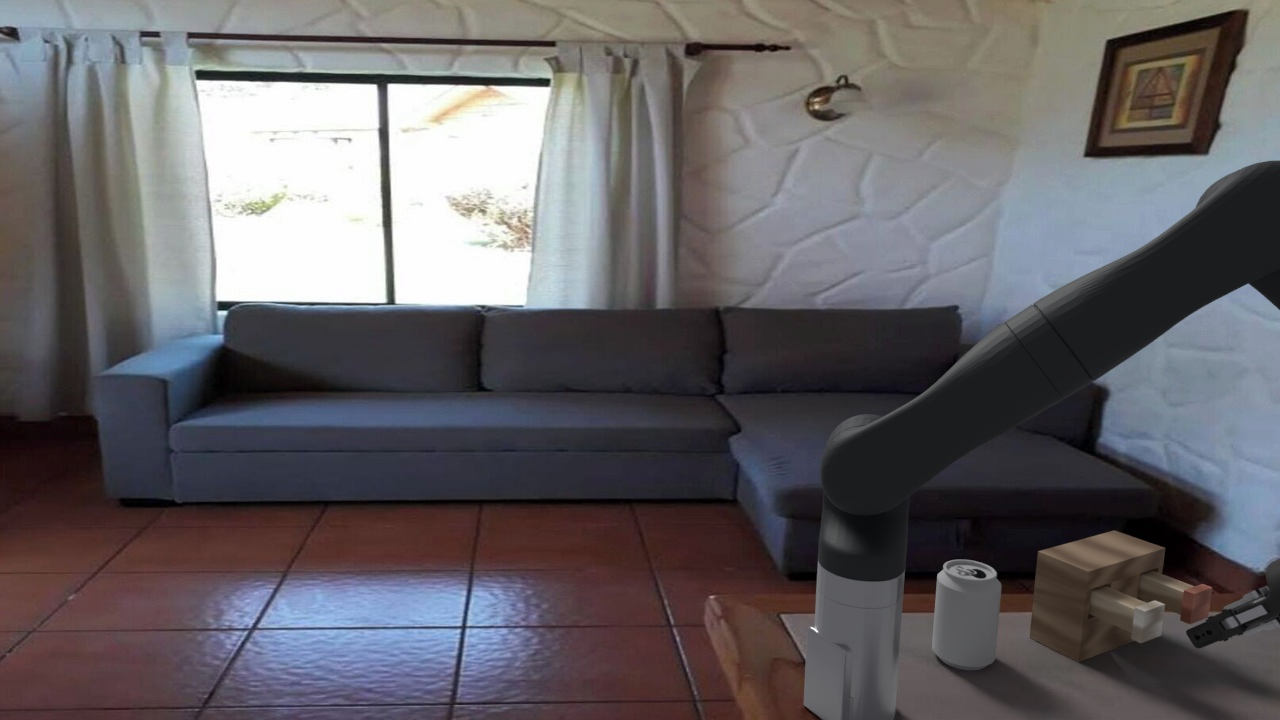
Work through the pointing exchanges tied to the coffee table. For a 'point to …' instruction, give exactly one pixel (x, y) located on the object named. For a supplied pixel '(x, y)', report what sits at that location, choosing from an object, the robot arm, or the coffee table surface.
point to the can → (966, 614)
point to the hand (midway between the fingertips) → (1194, 639)
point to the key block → (1087, 591)
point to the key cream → (1127, 613)
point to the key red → (1176, 595)
